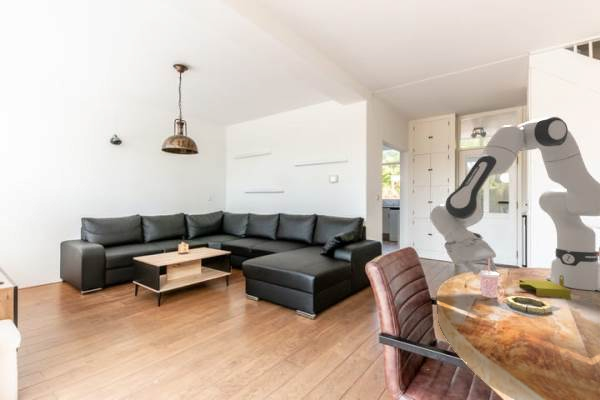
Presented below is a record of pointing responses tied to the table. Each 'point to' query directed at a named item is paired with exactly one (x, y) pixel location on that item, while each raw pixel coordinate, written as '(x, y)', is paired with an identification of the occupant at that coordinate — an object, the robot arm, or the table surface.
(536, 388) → the table surface
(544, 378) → the table surface
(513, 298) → the socket
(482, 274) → the beverage cup
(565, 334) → the table surface
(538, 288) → the bracket
